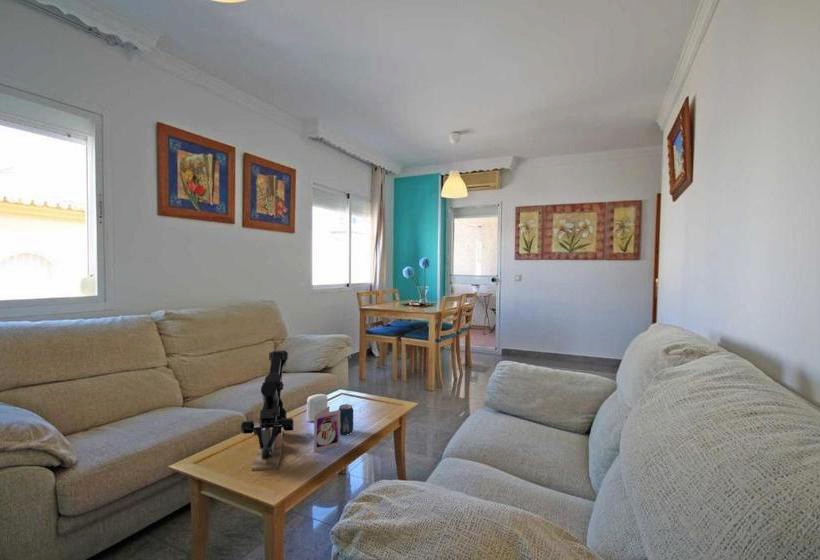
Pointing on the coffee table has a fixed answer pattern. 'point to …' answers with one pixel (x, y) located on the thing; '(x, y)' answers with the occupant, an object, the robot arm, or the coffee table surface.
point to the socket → (277, 438)
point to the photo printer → (315, 405)
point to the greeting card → (326, 429)
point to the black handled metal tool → (266, 443)
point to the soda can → (346, 419)
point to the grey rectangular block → (271, 450)
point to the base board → (267, 464)
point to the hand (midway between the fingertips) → (265, 448)
